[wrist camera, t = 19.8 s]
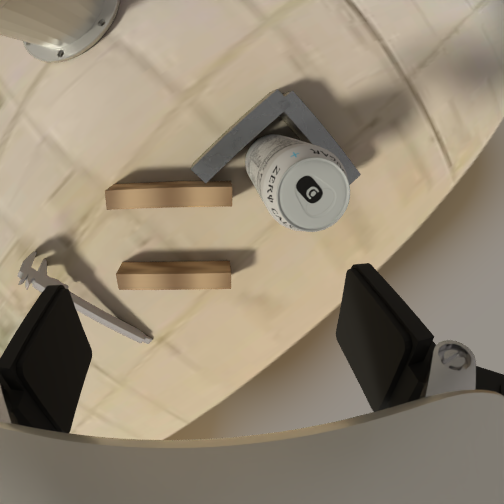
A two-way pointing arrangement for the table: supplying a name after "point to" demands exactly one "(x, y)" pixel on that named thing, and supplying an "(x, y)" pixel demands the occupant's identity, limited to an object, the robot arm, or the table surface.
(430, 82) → the table surface
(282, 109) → the gray l-shaped block
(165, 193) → the guide channel
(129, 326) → the caliper
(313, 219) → the energy drink can
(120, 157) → the table surface
